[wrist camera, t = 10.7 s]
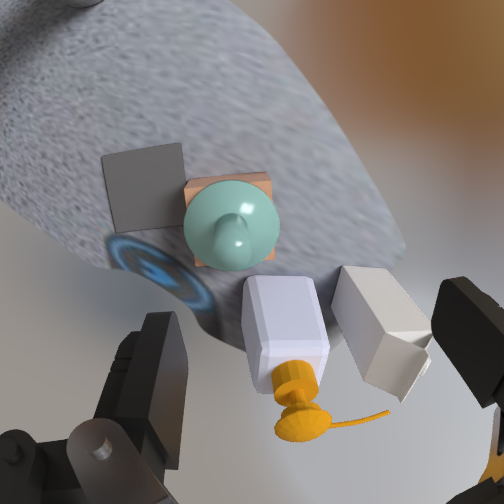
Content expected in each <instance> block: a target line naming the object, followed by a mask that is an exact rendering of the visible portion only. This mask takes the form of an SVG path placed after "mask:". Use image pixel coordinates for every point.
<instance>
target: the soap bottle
mask: <svg viewBox="0 0 504 504" xmlns="http://www.w3.org/2000/svg"><path fill="white" fill-rule="evenodd" d="M241 327H242V332H243V337H244V342H245V347H246V352H247V357H248V361H249V367H250V372H251V377H252V381H253V385H254V387H255V388H256V390H257V392H259V393H262V394H274V398H275V401H276V402H277V403H278V404H280V405H282V406H285V407H287V408H286V409H284V410H283V412H282V414H281V419H280V420H278V422H277V423H276V425H275V427H274V429H275V434H276V435H277V436H278V437H279V438H281V439H283V440H286V441H290V442H305V441H310V440H312V439H315V438H317V437H319V436H320V435H322V434H323V433H325V432H326V431H327V429H328V428H336V427H343V426H351V425H356V424H361V423H364V422H368V421H371V420H374V419H377V418H380V417H382V416H385V415H388V414H390V411H389V410H386V411H384V412H381V413H378V414H375V415H373V416H370V417H366V418H362V419H358V420H353V421H346V422H339V423H332V417H331V415H330V414H329V413H328V412H327V411H324V410H321V408H320V407H319V405H318V404H316V403H313V402H310V401H312V400H313V399H314V398H315V397H316V396H317V394H318V387H319V384H320V381H321V378H322V375H323V371H324V368H325V365H326V361H327V358H328V355H329V350H330V345H329V341H328V337H327V332H326V328H325V324H324V320H323V317H322V313H321V309H320V305H319V301H318V297H317V293H316V290H315V286H314V282H313V279H311V278H308V277H305V276H266V275H254V276H250V277H248V278H247V279H246V281H245V283H244V285H243V302H242V319H241Z"/></svg>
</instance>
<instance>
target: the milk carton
mask: <svg viewBox="0 0 504 504" xmlns="http://www.w3.org/2000/svg"><path fill="white" fill-rule="evenodd" d="M331 309H332V312H333V314H334V316H335V318H336V320H337V322H338V325H339V327H340V329H341V331H342V333H343V336H344V338H345V340H346V342H347V344H348V347H349V349H350V351H351V353H352V356H353V358H354V360H355V362H356V365H357V367H358V369H359V372H360V374H361V376H362V378H363V381H365V382H367V383H369V384H371V385H373V386H375V387H377V388H380V389H382V390H384V391H386V392H388V393H390V394H393V395H395V396H397V397H398V399H399V401H400V403H403V401H404V400H405V398H406V396H407V395H408V393H409V392H410V390H411V388H412V387H413V385H414V383H415V381H416V380H417V378H418V377H419V376H423V374H424V373H425V371H426V369H427V368H428V366H429V364H430V362H431V359H429V357H430V355H429V354H428V352H427V351H426V350H427V348H428V346H429V344H430V342H431V340H432V338H433V335H432V331H431V323H430V322H429V320H428V319H427V318H426V317H425V315H424V314H423V313H422V312H421V310H420V309H419V308H418V307H417V305H416V304H415V303H414V302H413V301H412V299H411V298H410V297H409V296H408V295H407V293H406V292H405V291H404V290H403V288H402V287H401V286H400V285H399V284H398V283H397V281H396V280H395V279H394V278H393V277H392V275H391V274H390V273H389V272H388V271H387V270H386V269H383V268H370V267H357V266H344V265H343V266H342V268H341V272H340V275H339V279H338V283H337V286H336V290H335V293H334V297H333V300H332V304H331Z"/></svg>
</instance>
